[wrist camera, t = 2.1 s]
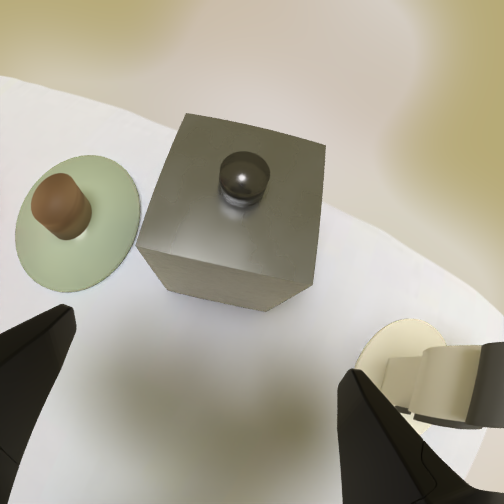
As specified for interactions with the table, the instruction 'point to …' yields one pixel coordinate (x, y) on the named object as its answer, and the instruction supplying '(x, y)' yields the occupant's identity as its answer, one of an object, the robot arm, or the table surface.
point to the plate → (95, 235)
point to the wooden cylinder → (61, 206)
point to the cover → (235, 214)
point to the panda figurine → (436, 377)
